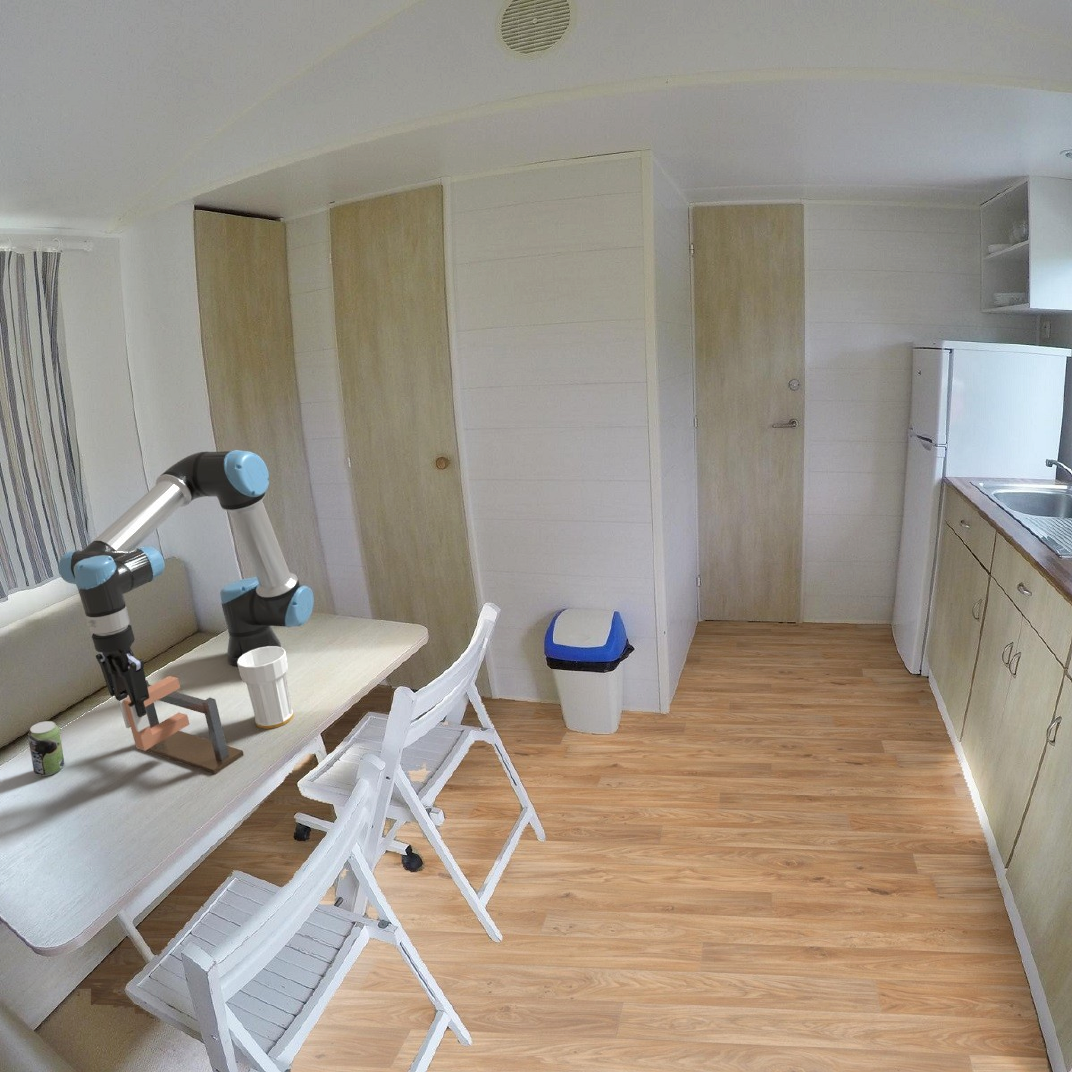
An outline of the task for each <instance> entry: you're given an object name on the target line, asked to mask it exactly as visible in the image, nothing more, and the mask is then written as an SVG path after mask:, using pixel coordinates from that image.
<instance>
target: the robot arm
mask: <svg viewBox="0 0 1072 1072" xmlns="http://www.w3.org/2000/svg"><path fill="white" fill-rule="evenodd" d="M269 478H270V473H269V469H268V468H267V465H266V462H265V461H264V460H263V459H262V457H260V456H259V455H258V454H257V453H254V452H252V451H249V450H246V451H245V450H240V449H235V450H228V451H227V450H226V451H223V450H221V451H199V452H196V453H193V454H190V455H188V456H186V457H184V458H182V459H181V460H179V461H178V462H175V463H174V464H173V465H172V466H170V467H169V468H167V469H166V470H165V471H164V472H163V473H161V474H160V475H159V476H158V477H157V478H156V480H155V485H154V486H153V487H152V488H151V489H150V490H149V491H148V492H147V493H145V494H144V495H143V496H142V497H141V498H140V499H139V500H137V501H136V502H135V503H134V504H133V505H132V506H131V507H130V508H129V509H127V510H126V511H125V512H124V513H123V514H122V515H121V516H120V517H118V518H117V519H116V520H115V521H114V522H113V523H112V524H110V525H109V526H108V527H107V528H106V529H105V530H104V531H103V532H102V533H101V534H99V535H98V536H97V537H96V538H95V539H94V540H92V542H90V543H89V544H88V545H87V546H86V547H84V548H83V549H81V550H80V549H77V550H72V551H68V552H66V553H65V554H63V555H62V557H60V560H59V562H58V573H59V575H60V578H62V580H64V582H66V583H68V584H72V585H76V586H75V587H76V588H77V591H78V594H79V597H80V601H81V603H82V607H83V610H84V613H85V616H86V620H87V623H86V625H87V626H88V627H89V631H90V633H91V634H92V635H91V639H92V642H93V645H94V649H95V651H96V652H98V654H95V658H96V661H97V662H98V664H99V666H100V669H101V672H102V675H103V678H104V682H105V684H106V686H107V689H108V692H109V695H110V696H111V697H114V698H115V700H116V701H118V704H119V708H120V711H121V715H122V717H123V721H124V725H125V728H127V729H129V728H130V729H131V726H130V723H129V719H128V716H127V712H126V709H125V705H124V701H123V700H124V699H126V698H128V697H129V698H130V700H131V703H129V704H128V705H129V706H130V709H131V713H132V716H133V720H134V724H135V727H136V731H138V732H139V731H141V730H143V729H145V728H146V727H148V726H150V724H149V720H148V717H147V713H146V709H145V705H144V701H145V700H147V699H149V693H148V688H147V683H146V679H147V678H146V675H145V671H144V670H145V669H144V667H145V662H144V659H143V658H139V659H137V658H135V654H134V652H133V650H132V648H131V647H132V645H133V643H134V642H135V640H136V639H135V634H134V631H133V627H132V625H130V624H131V620H130V617H129V613H128V608H127V605H126V600H125V594H126V593H129V592H131V591H133V590H135V589H137V588H139V587H141V586H143V585H147V583H151V582H152V581H154V580H155V579H156V578H158V577H159V576H161V575H162V574H163V573H164V571H165V568H166V565H165V564H166V563H165V560H164V556H163V555H162V554H161V552H160V551H159V550H158V549H156V548H155V547H153V546H150V545H149V546H148V545H146V546H141V547H138V546H140V545H141V544H142V543H143V542H144V541H145V540H146V539H147V538H148V537H150V535H152V534H153V533H154V532H155V531H156V530H157V529H158V528H159V527H160V526H161V525H162V524H163V523H164V522H165V521H166V520H167V519H168V518H169V517H170V516H172V514H173V513H175V511H177V510H178V509H179V508H180V507H186V506H187V505H189V504H191V502H192V501H193V500H196V499H199V498H203V497H204V498H205V497H216V498H217V500H218V502H219V505H220V507H221V509H223V510H225V511H227V512H229V514H230V515H231V518H232V520H233V523H234V525H235V527H236V530H237V533H238V535H239V538H240V540H241V542H242V545H243V547H244V551H245V552H246V554H247V557H248V559H249V562H250V564H251V567H252V569H253V572H254V574H255V576H252V577H247V578H246V577H245V578H242V579H240V580H239V579H238V580H236V581H233V582H231V583H229V584H227V585H226V586H224V587H223V588H221V590H220V593H219V596H220V603H221V607H222V611H223V615H224V619H225V625H226V627H227V628H226V629H227V632H228V644H227V651H226V657H227V661H228V664H229V665H231V666H234V667H238V665H237V661H238V658H240V657H241V656H242V655H243V654H245V653H247V652H249V651H251V650H254V649H257V648H261V647H267V646H277V647H281V648H282V646H281V645H282V644H281V641H280V639H279V638H278V636H277V635H276V633H275V631H274V630H273V628H272V627H284V628H285V627H286V628H291V627H294V628H295V627H302V626H304V625H305V624H306V623H307V621H309V619H310V617H311V614H312V612H313V609H314V602H315V600H314V594H313V593H314V592H313V590H312V589H311V588H310V587H309V586H307V585H301V583H300V581H299V578H298V576H297V575H296V574H295V573H293V572H290V571H289V567H288V565H287V563H286V560H285V557H284V554H283V552H282V551H283V550H282V549H281V546H280V544H279V541H278V539H277V535H276V533H275V530H274V527H273V525H272V522H271V519H270V517H269V514H268V513H267V509H266V508H265V507H266V506H265V504H264V502H263V500H264V499H265V498H266V495H267V493H266V491H267V490H268V487H269V485H270V481H269V480H268V479H269Z"/></svg>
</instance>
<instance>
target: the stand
mask: <svg viewBox="0 0 1072 1072" xmlns="http://www.w3.org/2000/svg"><path fill="white" fill-rule="evenodd" d="M146 683H147V687H149V686H151V685H152V684H149V681H148V680H146ZM158 701H159V702H163V703H167V704H169V705H173V706H177V707H180V708H184V709H188V710H191V711H194V712H197V713H201V714H204V716H205V721H206V724H207V728H208V732H209V736H210V737H209V738H210V739H207V738H205V737H201V736H197V735H194V734H192V733H188V732H185V731H181V730H179V731H177V732H176V733H174V734H172V735H171V736H169V737H167V738H166V739H164V740H162V741H161V742H159V743H157V744H155V745H154V746H152V747H150V748H149V749H147V750H145V751H146V752H148V753H152V754H154V755H158V756H160V757H163V758H166V759H169V760H172V761H175V762H178V763H181V764H183V765H186V766H190V767H193V768H194V769H195V768H196V769H198V770H200V771H204V772H206V773H209V774H212V775H217V774H218V773H220V772H221V771H222V770H224V769H226V768H227V767H228V766H229V765H231V764H233V763H234V762H235V761H237V760H239V759H241V758H242V757H243V756H244V751H243V750H242V749H238V748H236V747H232V746H230V745H229V746H228V745H227V742H226V738H225V734H224V730H223V726H222V721H221V718H220V714H219V713H220V712H219V709H218V705H217V701H216V698H212V697H207V698H206V699H204V698H199V697H195V696H191V695H188V694H184V693H181V692H177V691H174V692H172V693H170V694H168V695H166V696H165V697H163V698H161V699H159V700H158ZM154 703H155V702H153V703H152V704H150V705H148V706H146V707H145V709H146V713H147V717H148V720H149V724H150V728H152V727H154V726H156V725H158V724H159V723H160V721H159V718H158V714H157V709H156V705H155V704H154ZM145 751H144V752H145Z"/></svg>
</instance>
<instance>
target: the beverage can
mask: <svg viewBox="0 0 1072 1072" xmlns="http://www.w3.org/2000/svg"><path fill="white" fill-rule="evenodd" d="M60 730H61V729H60V727H59V726H58V725H56V722H54V721H51V720H45V721H40V722H36V723H35V724H33V725H32V726H31V727H30V729H29V731H28V733H27V738H28V743H29V744H28V745H29V750H30V756H31V762H32V768H33V772H34V773H35V774H36V775H38V776H43V777H45V776H51V775H54V774H56V773H58V772H60V770H62V769H63V768H64V767H65V758H64V752H63V746H62V745H63V744H62V737H61V731H60Z"/></svg>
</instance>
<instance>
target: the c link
mask: <svg viewBox="0 0 1072 1072" xmlns="http://www.w3.org/2000/svg"><path fill="white" fill-rule="evenodd" d="M150 685H151V686H149V687H147V688H148V693H149V699H147V700H145V701H144V705H145V707H146V706H148V705H150V704H152V703H153V702H154V703H155V702H156V701H159V699H161V698H163V697H165V696H166V695H168V694H170V693H172V692H177V691H178V690H179V689H181V685H180V681H179V678H178V677H175V676H170V675H168V676H167V677H165V678H163V679H161V680H158V681H157V682H155V683H154V684H153V683H152V684H150ZM127 697H128V696H127ZM123 701H124V705H125V709H126V712H127V716H128V719H129V723H130V726H131V727H130V729H131V734H132V737H133V741H134V744H135V747H136V749H139V750H142V751H144V752H145V750H147V749H149V748H150V747H152V746H154V745H155V744H157V743H159V742H161V741H162V740H164V739H166V738H167V737H169V736H171V735H172V734H174V733H176V732H177V731H181V730H183V729H184V728H186V727H188V726H189V725H190V721H189V717H188V714H185V713H181V712H177V713H175V714H174V715H172V716H170V717H168V718H167V719H165V720H163V721H161V722H159V724H158V725H156V726H154V727H152V728H150V726H148V727H146V728H145V729H143V730H141V731H139V732H138V731H136V727H135V724H134V720H133V716H132V713H131V709H130V706H129V705H128V704H129V703H131V700H130V698H129V697H128V698H126V699H124V700H123Z"/></svg>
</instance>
